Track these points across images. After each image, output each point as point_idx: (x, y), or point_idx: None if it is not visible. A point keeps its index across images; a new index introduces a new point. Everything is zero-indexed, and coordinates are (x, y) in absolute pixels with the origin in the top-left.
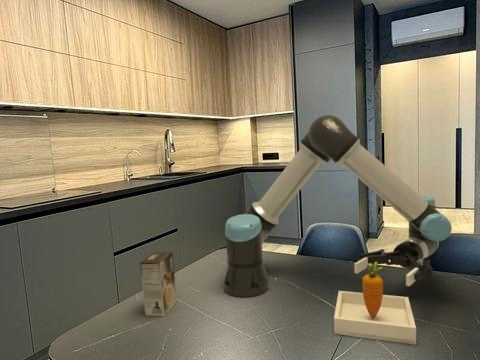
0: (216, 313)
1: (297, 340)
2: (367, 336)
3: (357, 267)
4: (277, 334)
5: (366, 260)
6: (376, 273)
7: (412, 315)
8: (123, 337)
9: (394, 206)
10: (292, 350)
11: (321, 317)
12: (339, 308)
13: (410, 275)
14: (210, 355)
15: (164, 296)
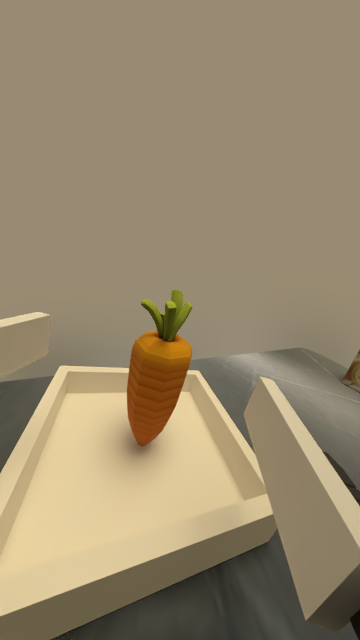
0: (331, 398)
1: (218, 374)
2: None
3: (255, 394)
4: (243, 378)
5: (324, 520)
6: (157, 326)
7: (39, 404)
8: (308, 359)
9: None
10: (210, 362)
11: (239, 431)
12: (209, 395)
13: (24, 317)
14: (250, 353)
15: (354, 366)
